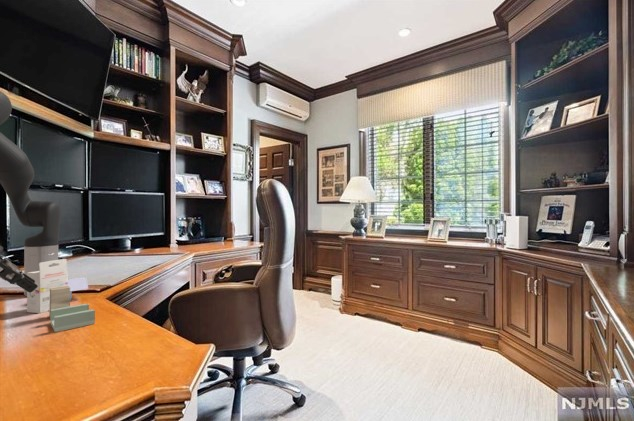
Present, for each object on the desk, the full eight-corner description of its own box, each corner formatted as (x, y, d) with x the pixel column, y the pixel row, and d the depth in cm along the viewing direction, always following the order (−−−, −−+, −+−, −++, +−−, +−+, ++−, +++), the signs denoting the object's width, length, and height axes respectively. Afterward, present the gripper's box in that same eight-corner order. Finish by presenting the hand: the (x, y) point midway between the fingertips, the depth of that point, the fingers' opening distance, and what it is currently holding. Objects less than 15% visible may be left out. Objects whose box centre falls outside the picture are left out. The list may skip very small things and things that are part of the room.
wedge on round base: (84, 293, 111) (35, 301, 102) (84, 275, 112) (35, 280, 102) (88, 298, 105) (36, 306, 96) (88, 278, 105) (37, 285, 96)
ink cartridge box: (55, 304, 99) (56, 257, 99) (68, 305, 98) (68, 258, 98) (25, 312, 90) (26, 262, 90) (39, 313, 89) (39, 262, 89)
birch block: (49, 316, 87) (49, 287, 87) (67, 313, 90) (67, 285, 90) (51, 319, 84) (51, 290, 84) (69, 316, 87) (70, 287, 87)
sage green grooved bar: (50, 323, 81) (50, 309, 81) (87, 315, 87) (87, 303, 87) (54, 332, 75) (54, 317, 75) (94, 323, 81) (94, 310, 81)
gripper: (-16, 237, 72) (49, 279, 80) (-14, 234, 82) (43, 272, 90) (-51, 262, 68) (20, 304, 76) (-45, 256, 78) (18, 293, 86)
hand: (33, 286), depth 83 cm, fingers open, 8 cm apart
